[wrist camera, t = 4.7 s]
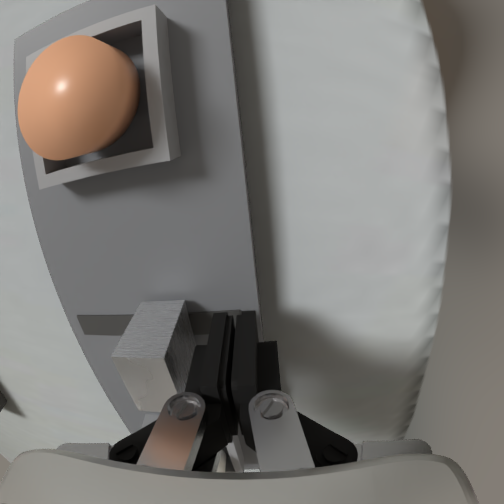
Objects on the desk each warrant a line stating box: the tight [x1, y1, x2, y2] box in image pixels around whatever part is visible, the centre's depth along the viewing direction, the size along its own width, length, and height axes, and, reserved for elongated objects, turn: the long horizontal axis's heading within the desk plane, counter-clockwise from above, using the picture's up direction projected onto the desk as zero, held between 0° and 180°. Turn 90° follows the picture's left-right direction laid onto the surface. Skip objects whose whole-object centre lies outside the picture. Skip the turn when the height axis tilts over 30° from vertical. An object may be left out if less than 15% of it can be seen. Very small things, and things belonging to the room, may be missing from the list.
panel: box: [14, 0, 264, 473], centre depth 13 cm, size 30×10×3 cm, turn 6°
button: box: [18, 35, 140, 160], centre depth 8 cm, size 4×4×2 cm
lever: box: [111, 300, 196, 412], centre depth 11 cm, size 2×3×4 cm, turn 6°
